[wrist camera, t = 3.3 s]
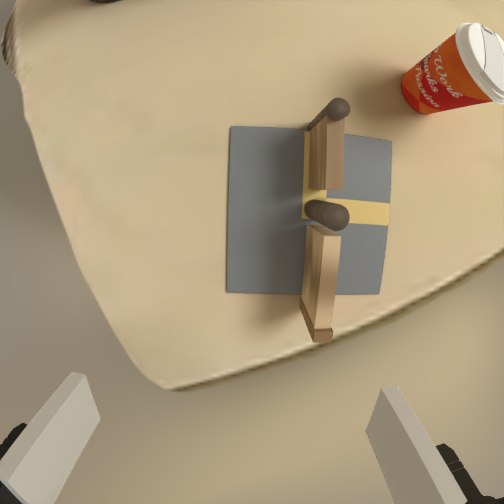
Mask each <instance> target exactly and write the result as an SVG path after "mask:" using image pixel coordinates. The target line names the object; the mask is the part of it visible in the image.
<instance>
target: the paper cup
mask: <svg viewBox="0 0 504 504" xmlns="http://www.w3.org/2000/svg"><path fill="white" fill-rule="evenodd" d="M401 89H402V93H403V96H404V98H405V100H406V101H407V103H408V104H409V105H410V106H411V107H412V108H413V109H414V110H416V111H418V112H420V113H423V114H431V113H436V112H441V111H446V110H450V109H455V108H460V107H465V106H470V105H475V104H481V103H486V102H492V101H494V102H496V103H498V104H503V105H504V41H503V40H502V39H501V38H500V37H499V36H498V35H497V34H496V33H495V32H492V31H491V30H490V29H489V28H487V27H485V26H483V25H482V26H481V25H480V24H479V23H462V24H461V25H459V26H458V27H457V30H456V33H455V34H453V35H452V36H451V37H450V38H448V39H447V40H446V41H445V42H443V43H442V44H441V45H439V46H438V47H437V48H436V49H434V50H433V51H432V52H431V53H430V54H428V55H427V56H426V57H425V58H423V59H422V60H421V61H420V62H419V63H417V64H416V65H415V66H414V67H413V68H411V69H410V70H409V71H408V72H407V73H406V74H405V75H404V76H403V78H402V81H401Z"/></svg>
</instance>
